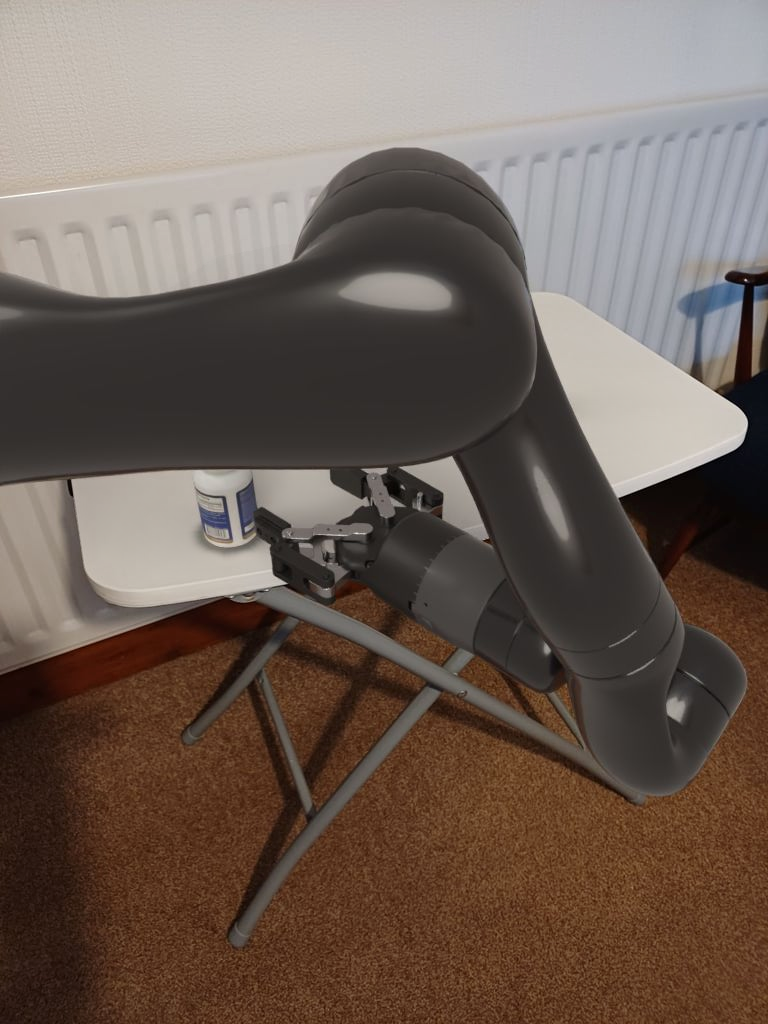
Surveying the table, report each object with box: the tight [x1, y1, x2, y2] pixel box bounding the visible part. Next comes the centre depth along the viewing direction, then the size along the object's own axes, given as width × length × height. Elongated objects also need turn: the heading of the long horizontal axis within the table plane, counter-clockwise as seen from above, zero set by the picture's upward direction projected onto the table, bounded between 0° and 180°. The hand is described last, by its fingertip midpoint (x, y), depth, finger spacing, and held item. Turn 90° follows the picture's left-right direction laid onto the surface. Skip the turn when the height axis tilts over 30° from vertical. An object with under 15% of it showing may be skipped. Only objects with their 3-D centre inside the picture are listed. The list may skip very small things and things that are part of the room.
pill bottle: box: [192, 470, 258, 548], centre depth 73 cm, size 5×5×10 cm
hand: (296, 493), depth 65 cm, fingers open, 8 cm apart
